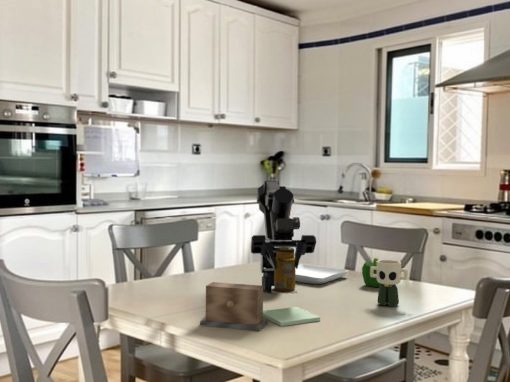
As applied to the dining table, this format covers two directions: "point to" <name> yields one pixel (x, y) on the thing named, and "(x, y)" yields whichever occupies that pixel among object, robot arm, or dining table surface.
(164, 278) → the dining table surface
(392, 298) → the character mug
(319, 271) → the salad plate
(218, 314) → the walnut unit
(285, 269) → the condiment
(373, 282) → the bell pepper
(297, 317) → the sage pad
